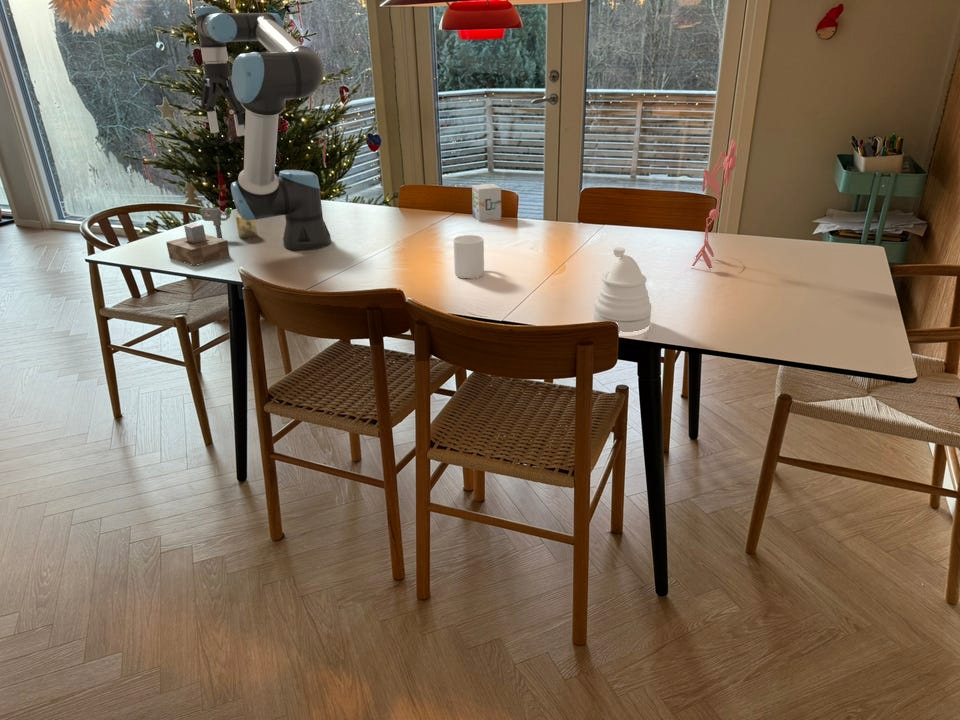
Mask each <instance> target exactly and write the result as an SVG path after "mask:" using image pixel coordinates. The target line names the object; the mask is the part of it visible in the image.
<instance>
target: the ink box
mask: <svg viewBox="0 0 960 720" xmlns="http://www.w3.org/2000/svg"><path fill="white" fill-rule="evenodd" d="M471 190H472V191H471V192H472V193H471V194H472V199H471V200H472V201H471V202H472V217H473V218H474V219H476V221H478V222H479V223H481V222H491V221H501V220H502V188H501V187H500V186H499V185H497V184H495V183H492V182H491V183H483V184H482V183H481V184H472V185H471Z"/></svg>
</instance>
